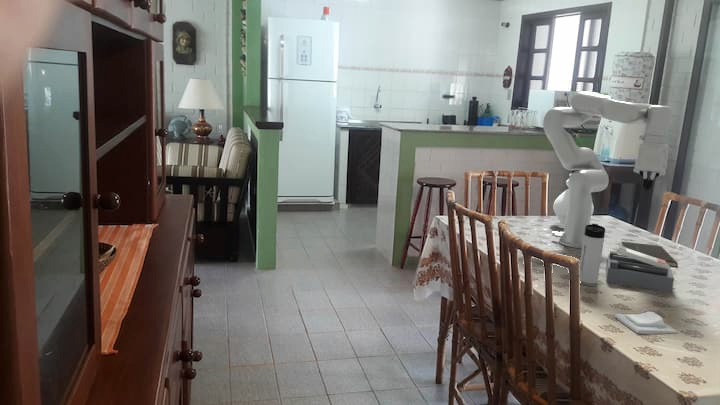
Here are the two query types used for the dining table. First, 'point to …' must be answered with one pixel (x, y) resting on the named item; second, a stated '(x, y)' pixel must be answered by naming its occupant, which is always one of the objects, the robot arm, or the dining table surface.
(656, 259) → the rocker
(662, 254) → the hardcover book
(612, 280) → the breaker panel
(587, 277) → the travel mug
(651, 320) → the light switch
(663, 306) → the dining table surface
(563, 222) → the decorative vase
